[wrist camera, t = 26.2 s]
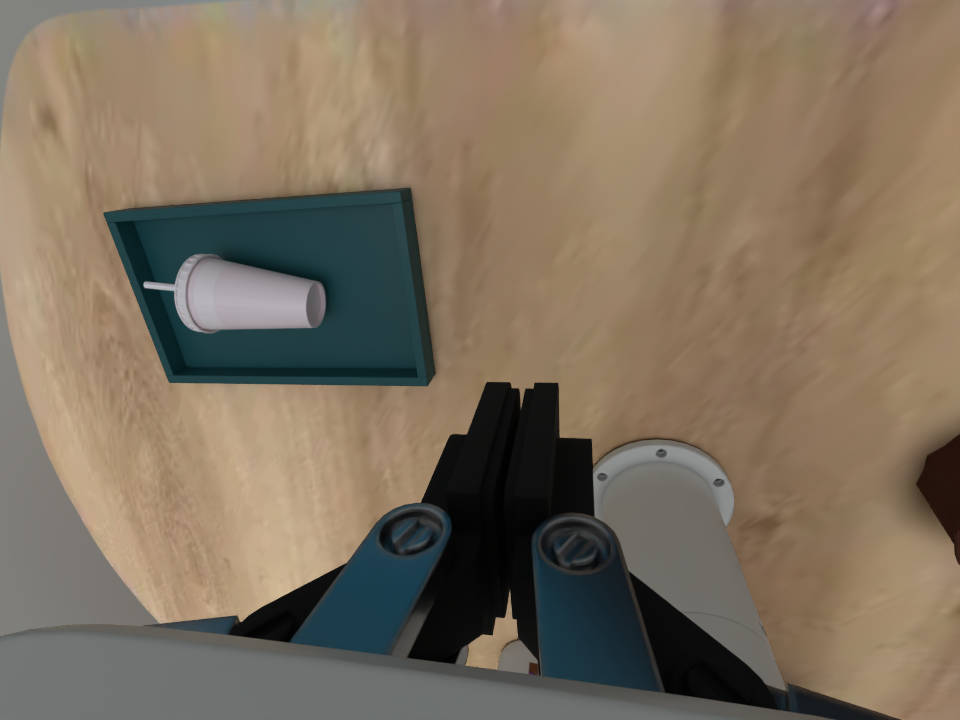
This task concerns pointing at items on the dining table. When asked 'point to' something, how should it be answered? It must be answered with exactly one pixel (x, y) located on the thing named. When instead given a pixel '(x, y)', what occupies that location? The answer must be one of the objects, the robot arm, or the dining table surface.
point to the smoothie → (242, 297)
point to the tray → (298, 252)
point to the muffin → (944, 488)
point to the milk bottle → (518, 659)
